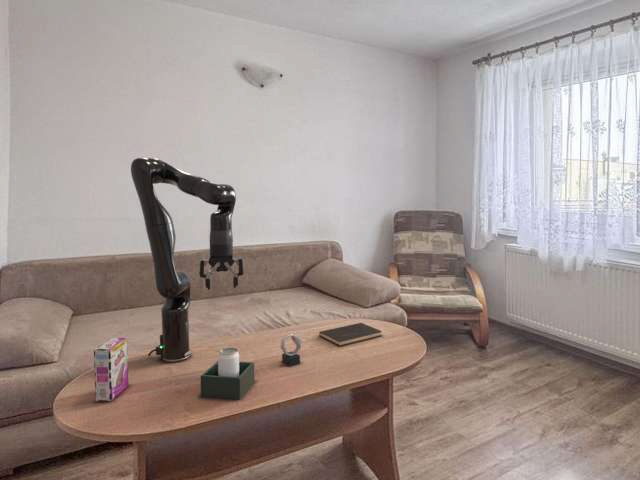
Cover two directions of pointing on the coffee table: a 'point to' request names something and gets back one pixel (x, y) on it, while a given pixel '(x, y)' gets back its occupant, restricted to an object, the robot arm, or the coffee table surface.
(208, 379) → the bin
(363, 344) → the coffee table surface
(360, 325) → the hardcover book
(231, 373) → the can
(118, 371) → the candy bar box
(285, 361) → the watch
